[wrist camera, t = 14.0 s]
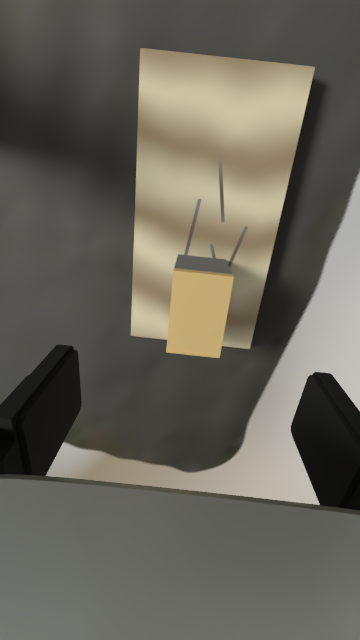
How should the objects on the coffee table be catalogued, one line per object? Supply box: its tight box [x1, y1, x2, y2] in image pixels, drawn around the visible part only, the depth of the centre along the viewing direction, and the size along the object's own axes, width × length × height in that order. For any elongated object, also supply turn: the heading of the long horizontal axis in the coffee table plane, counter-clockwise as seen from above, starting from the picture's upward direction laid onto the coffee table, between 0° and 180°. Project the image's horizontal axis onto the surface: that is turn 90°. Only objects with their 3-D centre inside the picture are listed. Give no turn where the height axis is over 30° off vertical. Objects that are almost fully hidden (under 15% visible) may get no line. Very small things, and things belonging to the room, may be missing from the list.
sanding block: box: [166, 254, 234, 358], centre depth 25 cm, size 7×4×6 cm, turn 174°
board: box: [131, 48, 315, 349], centre depth 26 cm, size 24×13×2 cm, turn 174°
